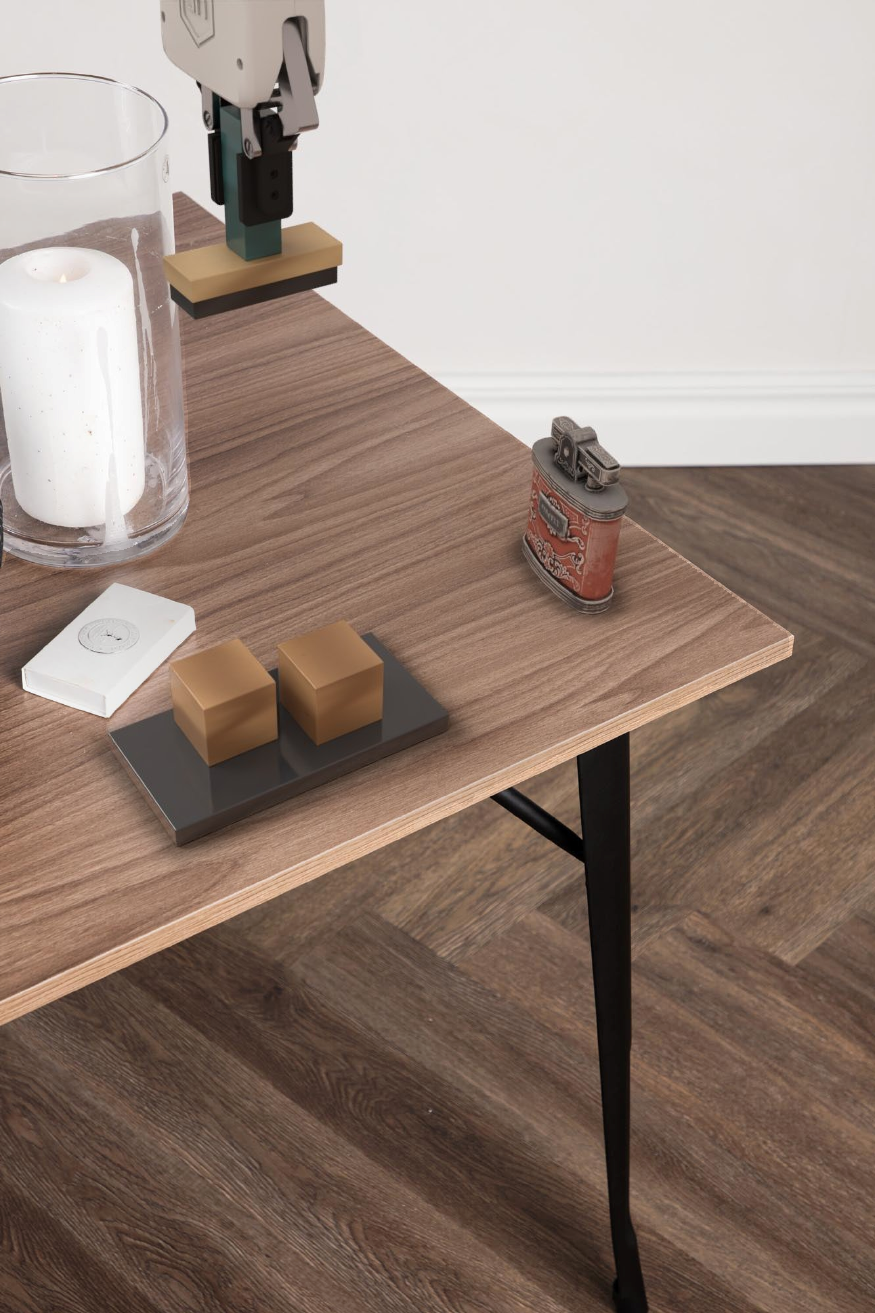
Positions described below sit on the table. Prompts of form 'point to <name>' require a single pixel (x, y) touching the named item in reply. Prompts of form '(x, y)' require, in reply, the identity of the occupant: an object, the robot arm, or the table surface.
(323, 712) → the brown cube
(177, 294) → the rubber stamp
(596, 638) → the table surface
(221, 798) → the board
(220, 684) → the tan wooden cube
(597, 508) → the lighter
